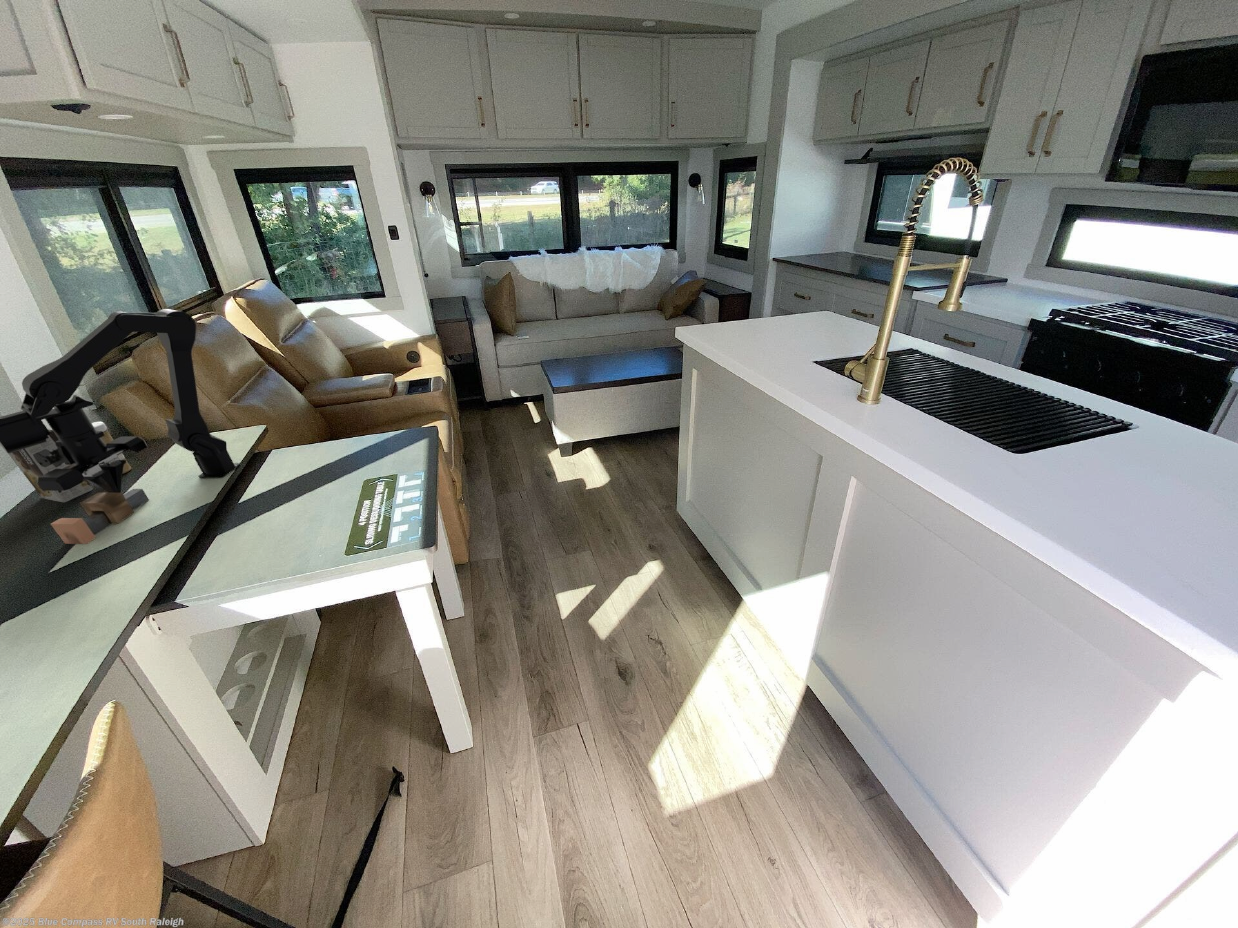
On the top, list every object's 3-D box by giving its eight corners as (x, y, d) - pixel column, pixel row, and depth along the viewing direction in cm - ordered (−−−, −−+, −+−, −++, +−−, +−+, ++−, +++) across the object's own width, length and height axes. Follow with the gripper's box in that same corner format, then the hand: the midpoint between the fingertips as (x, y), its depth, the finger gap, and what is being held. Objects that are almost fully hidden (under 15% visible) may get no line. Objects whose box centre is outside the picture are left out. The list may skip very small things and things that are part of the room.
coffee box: (95, 489, 125) (55, 429, 117) (63, 503, 120) (19, 442, 112) (72, 484, 128) (31, 426, 120) (40, 498, 123) (-5, 438, 115)
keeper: (111, 512, 115) (97, 492, 113) (134, 512, 115) (121, 492, 112) (94, 523, 112) (79, 503, 109) (117, 523, 111) (104, 503, 109)
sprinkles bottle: (130, 472, 132) (101, 425, 125) (108, 478, 130) (76, 430, 123) (133, 465, 135) (104, 419, 128) (111, 471, 133) (80, 424, 126)
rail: (139, 499, 120) (132, 488, 118) (149, 499, 120) (142, 488, 118) (70, 543, 106) (62, 531, 105) (81, 543, 106) (72, 532, 104)
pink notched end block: (74, 537, 108) (60, 518, 105) (96, 537, 107) (82, 518, 105) (65, 543, 106) (50, 524, 104) (86, 543, 106) (72, 524, 103)
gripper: (86, 413, 115) (123, 473, 123) (-10, 454, 99) (40, 520, 107) (130, 413, 114) (165, 473, 122) (41, 454, 98) (88, 520, 106)
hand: (117, 495), depth 114 cm, fingers closed
